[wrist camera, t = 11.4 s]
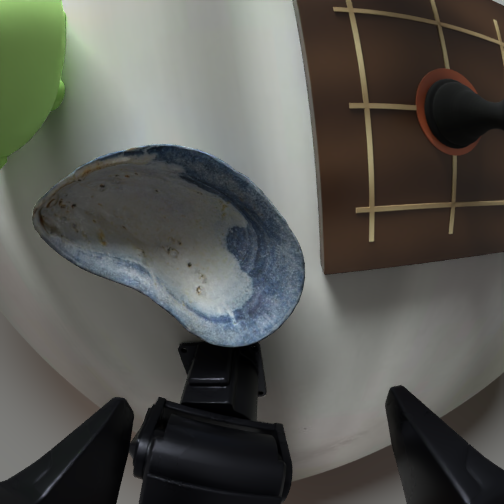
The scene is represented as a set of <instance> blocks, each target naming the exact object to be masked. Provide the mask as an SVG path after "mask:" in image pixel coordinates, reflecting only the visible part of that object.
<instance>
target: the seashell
mask: <svg viewBox="0 0 504 504" xmlns="http://www.w3.org/2000/svg"><path fill="white" fill-rule="evenodd" d="M32 220H33V225H34V228H35V230H36V231H37V232H38V233H39V235H40V236H41V238H42V239H43V240H44V241H45V242H46V243H47V244H48V245H49V246H50V247H51V248H53V249H54V250H55V251H56V252H57V253H59V254H60V255H61V256H63V257H64V258H66V259H67V260H68V261H70V262H71V263H73V264H75V265H76V266H78V267H79V268H81V269H83V270H85V271H87V272H90V273H92V274H95V275H97V276H100V277H103V278H106V279H109V280H111V281H114V282H116V283H119V284H122V285H124V286H127V287H130V288H133V289H135V290H137V291H138V292H140V293H142V294H144V295H146V296H148V297H150V298H151V299H152V300H153V301H154V302H155V303H157V304H158V305H159V306H161V307H162V308H163V309H165V310H166V311H167V312H168V313H169V314H170V315H172V316H173V317H175V318H176V319H177V320H178V321H179V323H180V324H181V325H182V326H183V327H184V328H185V329H187V330H188V331H189V332H190V333H192V334H194V335H195V336H197V337H198V338H200V339H202V340H204V341H206V342H208V343H210V344H214V345H218V346H222V347H230V348H232V347H242V346H248V345H251V344H254V343H256V342H259V341H261V340H263V339H265V338H267V337H268V336H270V335H271V334H272V333H274V332H275V331H276V330H277V329H279V328H280V327H281V326H282V324H283V323H284V322H285V321H286V320H287V319H288V318H289V316H290V315H291V314H292V312H293V311H294V309H295V307H296V305H297V304H298V302H299V300H300V296H301V293H302V290H303V286H304V280H305V263H304V257H303V253H302V250H301V247H300V245H299V243H298V241H297V239H296V237H295V235H294V234H293V233H292V231H291V229H290V228H289V226H288V224H287V222H286V220H285V219H284V218H283V217H282V216H281V215H280V213H279V212H278V210H277V209H276V208H275V206H274V205H273V204H272V203H271V201H270V200H269V199H268V198H267V197H266V196H265V195H264V193H263V192H262V191H261V190H260V189H259V188H258V187H257V186H256V185H255V184H254V183H253V182H252V181H251V180H250V179H249V178H248V177H247V176H245V175H243V174H242V173H240V172H237V171H235V170H234V169H233V168H232V167H230V166H229V165H228V164H227V163H225V162H224V161H222V160H220V159H218V158H217V157H215V156H213V155H211V154H208V153H206V152H203V151H200V150H197V149H193V148H188V147H184V146H179V145H171V144H155V145H147V146H139V147H135V148H131V149H127V150H123V151H118V152H113V153H109V154H106V155H103V156H100V157H98V158H96V159H94V160H92V161H90V162H88V163H86V164H84V165H82V166H80V167H78V168H77V169H75V170H74V171H73V172H72V173H71V174H69V175H68V176H66V177H65V178H63V179H62V180H61V181H59V182H58V183H57V184H55V185H54V186H53V187H52V188H51V189H50V190H49V191H48V192H47V193H46V194H45V195H44V196H42V197H41V198H40V199H39V200H38V202H37V203H36V205H35V206H34V209H33V215H32Z"/></svg>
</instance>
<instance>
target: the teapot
mask: <svg viewBox="0 0 504 504" xmlns="http://www.w3.org/2000/svg"><path fill="white" fill-rule="evenodd" d="M65 19H66V15H65V12H64V11H63V6H62V1H61V0H0V169H1V168H2V167H3V166H4V165H5V164H6V163H7V157H8V156H9V155H11V154H12V153H14V152H15V151H17V150H18V149H20V148H21V147H22V146H23V145H25V144H26V143H27V142H28V141H29V140H30V139H31V138H32V137H33V136H34V135H35V133H36V132H37V131H38V130H39V129H40V127H41V126H42V124H43V123H44V121H45V120H46V118H47V116H48V115H49V113H50V111H54V110H55V109H57V108H58V107H59V106H60V104H61V103H62V101H63V98H64V94H65V86H64V83H63V82H62V81H61V80H60V79H61V75H62V69H63V64H64V56H65V46H66V27H65Z"/></svg>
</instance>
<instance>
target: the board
mask: <svg viewBox="0 0 504 504" xmlns="http://www.w3.org/2000/svg"><path fill="white" fill-rule="evenodd" d="M293 5H294V10H295V15H296V21H297V26H298V32H299V38H300V44H301V50H302V56H303V63H304V70H305V77H306V84H307V91H308V99H309V108H310V116H311V125H312V135H313V145H314V156H315V167H316V180H317V194H318V210H319V229H320V255H321V266H322V269H323V272H324V274H325V275H328V274H337V273H347V272H356V271H364V270H373V269H382V268H390V267H398V266H406V265H414V264H422V263H429V262H437V261H444V260H451V259H458V258H465V257H472V256H479V255H486V254H492V253H499V252H504V131H503V130H501V129H491V130H489V131H487V132H486V133H485V134H483V135H482V136H480V137H479V138H478V140H477V141H475V142H474V143H472V144H470V145H469V146H467V147H465V148H461V149H454V148H450V147H447V146H446V145H444V144H442V143H441V142H440V141H439V140H437V138H436V137H435V136H434V135H433V133H432V132H431V130H430V128H429V126H428V123H427V121H426V117H425V110H424V103H425V97H426V94H427V92H428V90H429V88H430V87H431V85H432V84H434V83H435V82H436V81H438V80H441V79H453V80H456V81H459V82H460V83H462V84H464V85H466V86H468V87H469V88H470V89H471V90H473V91H474V92H475V93H476V94H478V95H479V96H481V97H482V98H483V99H485V100H486V101H489V102H494V103H497V102H500V101H502V100H503V99H504V6H503V5H501V4H499V3H497V2H495V1H492V0H293Z"/></svg>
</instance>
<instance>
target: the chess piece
mask: <svg viewBox="0 0 504 504" xmlns="http://www.w3.org/2000/svg"><path fill="white" fill-rule="evenodd" d="M424 110H425V117H426V121H427V123H428V126H429V128H430V130H431V132H432V133H433V135H434V136H435V137H436V138H437V140H439V141H440V142H441V143H442V144H444V145H446V146H447V147H450V148H454V149H461V148H465V147H467V146H469V145H470V144H472V143H474V142H475V141H477V140H478V138H479V137H480V136H482V135H483V134H485V133H486V132H487V131H489V130H491V129H501V130H503V131H504V99H503V100H502V101H500V102H497V103H494V102H489V101H486V100H485V99H483V98H482V97H481V96H479V95H478V94H476V93H475V92H474V91H473V90H471V89H470V88H469V87H468V86H466V85H464V84H462V83H460V82H459V81H456V80H453V79H441V80H438V81H436V82H435V83H434V84H432V85H431V87H430V88H429V90H428V92H427V94H426V97H425V103H424Z"/></svg>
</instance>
